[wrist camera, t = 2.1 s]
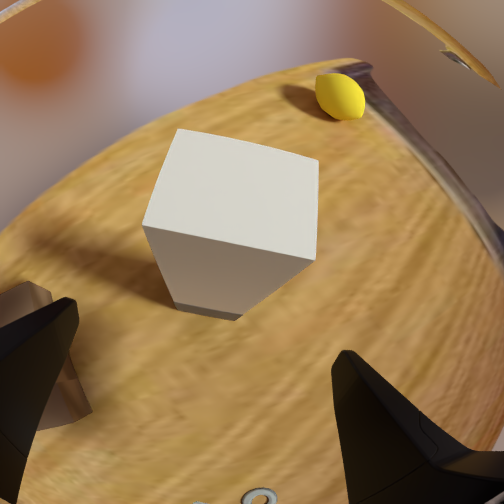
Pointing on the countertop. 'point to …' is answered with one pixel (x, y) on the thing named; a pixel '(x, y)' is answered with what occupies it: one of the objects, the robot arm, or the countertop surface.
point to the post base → (67, 384)
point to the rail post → (230, 222)
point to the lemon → (340, 96)
